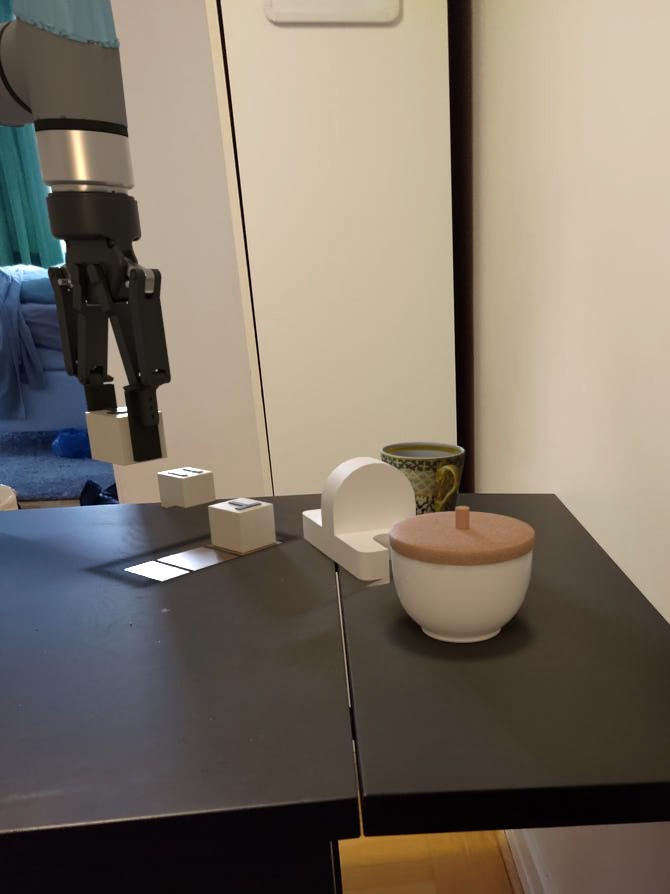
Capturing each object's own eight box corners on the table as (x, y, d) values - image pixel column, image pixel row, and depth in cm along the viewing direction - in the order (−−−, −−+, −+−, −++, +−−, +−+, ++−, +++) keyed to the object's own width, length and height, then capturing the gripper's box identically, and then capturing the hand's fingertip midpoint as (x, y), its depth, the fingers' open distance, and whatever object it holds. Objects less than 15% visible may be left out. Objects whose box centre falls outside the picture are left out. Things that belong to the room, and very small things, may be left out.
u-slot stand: (362, 587, 88) (358, 481, 84) (301, 541, 103) (295, 448, 98) (446, 573, 93) (447, 472, 89) (376, 531, 107) (374, 442, 103)
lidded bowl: (482, 668, 71) (484, 536, 67) (362, 633, 77) (357, 511, 73) (556, 621, 81) (562, 503, 77) (444, 593, 87) (444, 483, 83)
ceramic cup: (368, 527, 109) (365, 446, 105) (438, 516, 114) (438, 438, 110) (419, 555, 99) (419, 466, 95) (493, 542, 104) (495, 457, 100)
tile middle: (161, 506, 116) (156, 472, 114) (191, 499, 120) (187, 465, 118) (186, 512, 113) (181, 477, 112) (216, 505, 117) (213, 470, 115)
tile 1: (89, 458, 86) (82, 410, 84) (133, 451, 90) (127, 404, 88) (124, 466, 83) (117, 416, 82) (167, 457, 87) (161, 410, 86)
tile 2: (211, 545, 98) (207, 504, 97) (245, 535, 102) (242, 496, 100) (242, 553, 96) (238, 511, 94) (276, 542, 100) (273, 502, 98)
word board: (92, 581, 89) (91, 575, 88) (243, 536, 104) (243, 531, 104) (143, 598, 85) (142, 591, 84) (292, 548, 100) (292, 542, 100)
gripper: (194, 191, 76) (221, 461, 85) (68, 197, 85) (104, 439, 94) (119, 184, 70) (156, 474, 79) (-8, 192, 79) (38, 450, 88)
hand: (128, 455), depth 87 cm, fingers closed on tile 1, 5 cm apart
